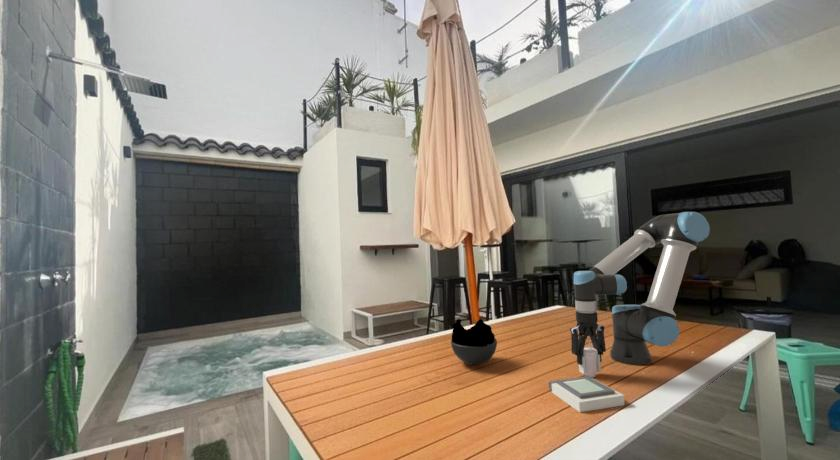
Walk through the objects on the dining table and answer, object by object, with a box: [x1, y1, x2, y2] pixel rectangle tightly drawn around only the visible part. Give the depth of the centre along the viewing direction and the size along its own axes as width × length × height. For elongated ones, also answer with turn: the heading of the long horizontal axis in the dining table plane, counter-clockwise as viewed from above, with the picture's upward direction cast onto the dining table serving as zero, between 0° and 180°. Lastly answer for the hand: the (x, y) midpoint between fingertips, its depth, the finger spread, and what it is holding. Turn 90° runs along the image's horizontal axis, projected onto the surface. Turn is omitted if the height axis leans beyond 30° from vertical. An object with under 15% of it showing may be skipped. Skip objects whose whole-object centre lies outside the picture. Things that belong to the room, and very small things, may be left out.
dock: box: [548, 375, 625, 413], centre depth 112 cm, size 16×16×4 cm
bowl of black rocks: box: [450, 318, 498, 366], centre depth 148 cm, size 20×20×19 cm
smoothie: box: [583, 337, 598, 378], centre depth 130 cm, size 6×6×14 cm
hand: (590, 371), depth 130 cm, fingers closed on smoothie, 6 cm apart
